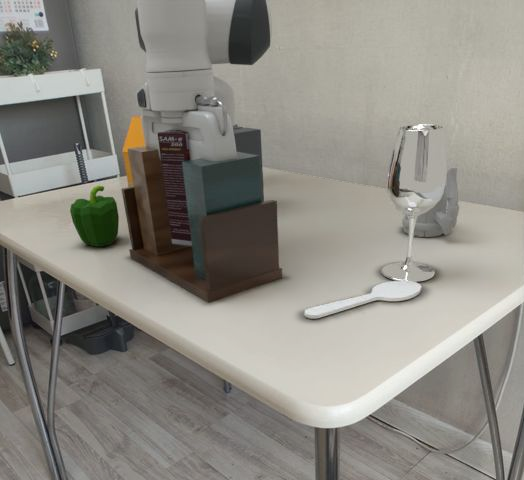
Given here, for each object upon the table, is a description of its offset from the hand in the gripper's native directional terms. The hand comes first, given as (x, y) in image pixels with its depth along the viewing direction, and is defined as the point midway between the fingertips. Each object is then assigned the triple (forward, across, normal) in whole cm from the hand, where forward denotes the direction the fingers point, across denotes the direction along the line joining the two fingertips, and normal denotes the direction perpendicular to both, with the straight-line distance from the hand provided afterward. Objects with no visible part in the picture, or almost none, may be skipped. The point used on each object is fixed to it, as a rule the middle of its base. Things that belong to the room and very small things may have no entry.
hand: (193, 196), depth 79 cm
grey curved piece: (+11, -15, -38) cm, 42 cm away
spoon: (+11, -27, -9) cm, 30 cm away
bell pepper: (+11, +24, +7) cm, 27 cm away
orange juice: (+11, +26, -7) cm, 29 cm away
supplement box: (+7, 0, 0) cm, 7 cm away
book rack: (+11, 0, 0) cm, 11 cm away
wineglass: (+11, -24, -21) cm, 34 cm away
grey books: (+11, +25, -23) cm, 36 cm away
